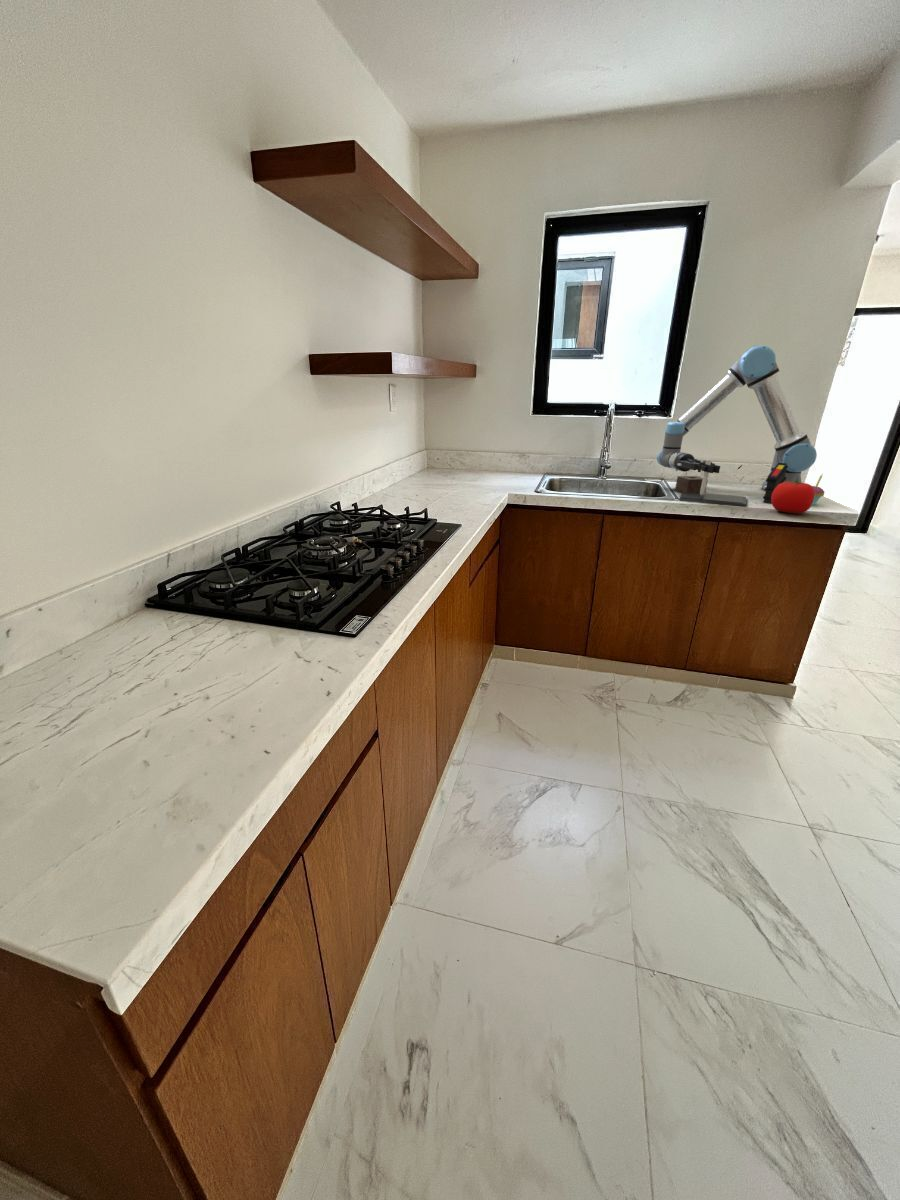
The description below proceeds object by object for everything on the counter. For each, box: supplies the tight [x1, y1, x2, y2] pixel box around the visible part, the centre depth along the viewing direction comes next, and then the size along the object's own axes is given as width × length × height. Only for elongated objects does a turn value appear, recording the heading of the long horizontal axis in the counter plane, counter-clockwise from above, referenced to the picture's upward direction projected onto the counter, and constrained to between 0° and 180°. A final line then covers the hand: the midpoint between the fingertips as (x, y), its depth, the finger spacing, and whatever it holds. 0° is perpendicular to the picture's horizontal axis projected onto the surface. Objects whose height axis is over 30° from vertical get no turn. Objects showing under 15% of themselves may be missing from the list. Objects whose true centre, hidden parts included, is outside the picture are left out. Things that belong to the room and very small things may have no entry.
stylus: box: [700, 458, 712, 497], centre depth 203 cm, size 2×2×15 cm
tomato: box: [771, 481, 814, 514], centre depth 183 cm, size 13×14×12 cm
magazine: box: [762, 463, 788, 504], centre depth 202 cm, size 4×13×15 cm, turn 133°
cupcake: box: [811, 473, 825, 506], centre depth 198 cm, size 9×8×12 cm
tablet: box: [679, 491, 747, 507], centre depth 207 cm, size 24×17×1 cm
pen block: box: [674, 475, 709, 493], centre depth 223 cm, size 9×9×6 cm
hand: (715, 469), depth 196 cm, fingers closed on stylus, 2 cm apart
